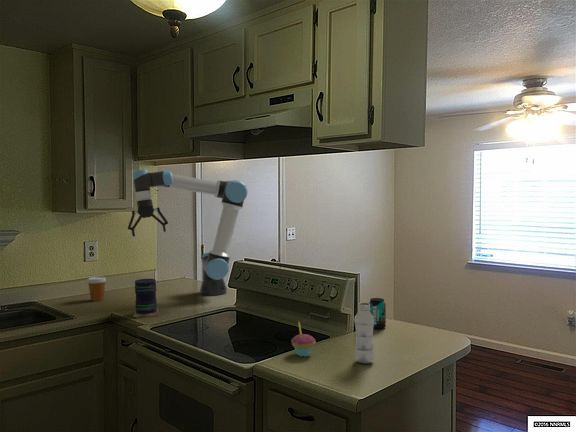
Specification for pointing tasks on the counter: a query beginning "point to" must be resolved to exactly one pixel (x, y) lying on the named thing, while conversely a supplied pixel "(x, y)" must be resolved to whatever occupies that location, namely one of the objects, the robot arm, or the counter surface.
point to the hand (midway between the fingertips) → (150, 240)
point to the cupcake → (303, 343)
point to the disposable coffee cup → (96, 288)
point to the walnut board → (146, 314)
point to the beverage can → (378, 312)
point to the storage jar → (145, 296)
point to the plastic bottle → (364, 334)
